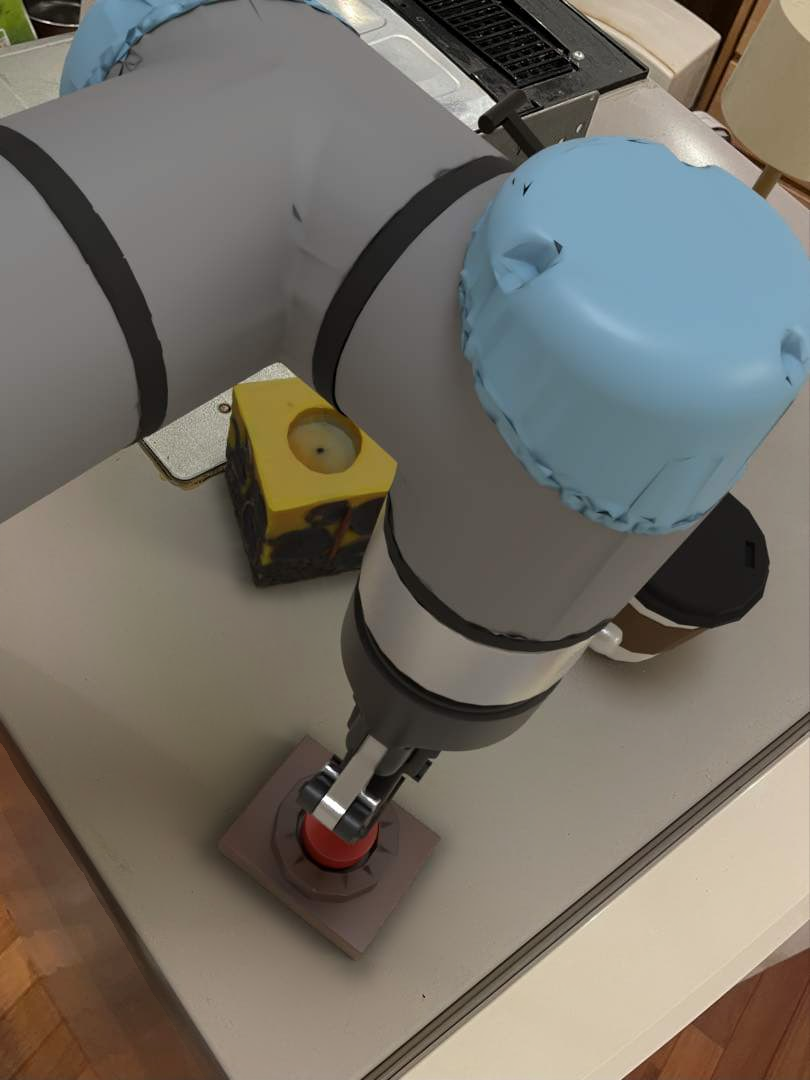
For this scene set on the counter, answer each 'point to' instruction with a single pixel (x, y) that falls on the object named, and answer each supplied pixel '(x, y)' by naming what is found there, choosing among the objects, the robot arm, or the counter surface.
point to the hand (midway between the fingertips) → (351, 812)
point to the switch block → (313, 889)
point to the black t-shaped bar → (511, 122)
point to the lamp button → (333, 844)
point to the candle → (301, 481)
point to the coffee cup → (697, 585)
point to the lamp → (774, 94)
